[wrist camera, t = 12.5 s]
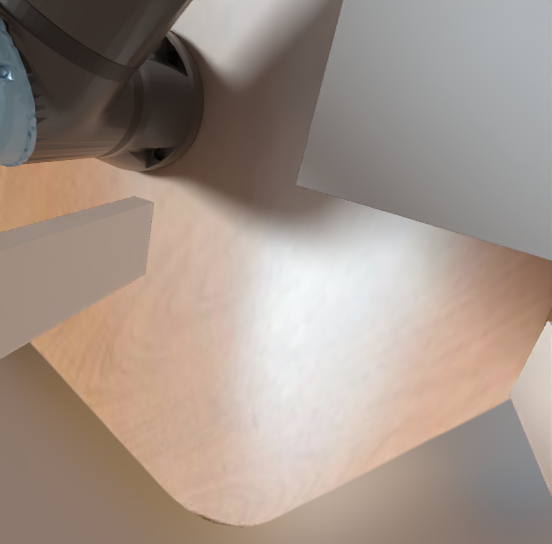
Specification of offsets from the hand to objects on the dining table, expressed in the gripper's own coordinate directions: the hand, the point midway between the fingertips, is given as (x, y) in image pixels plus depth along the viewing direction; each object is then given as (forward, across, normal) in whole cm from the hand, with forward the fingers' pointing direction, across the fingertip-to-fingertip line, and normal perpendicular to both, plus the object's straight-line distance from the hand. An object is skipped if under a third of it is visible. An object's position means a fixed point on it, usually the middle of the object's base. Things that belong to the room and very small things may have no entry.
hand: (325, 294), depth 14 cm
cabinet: (+31, +10, +8) cm, 34 cm away
